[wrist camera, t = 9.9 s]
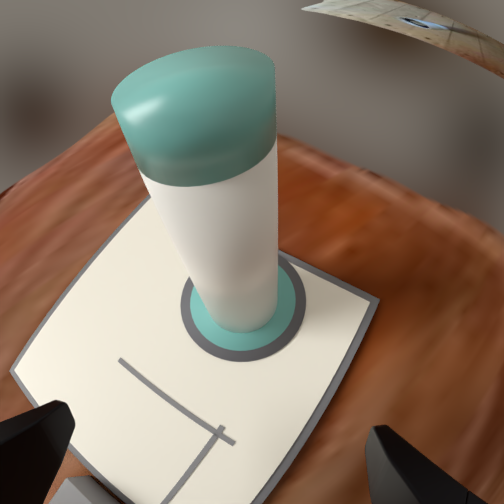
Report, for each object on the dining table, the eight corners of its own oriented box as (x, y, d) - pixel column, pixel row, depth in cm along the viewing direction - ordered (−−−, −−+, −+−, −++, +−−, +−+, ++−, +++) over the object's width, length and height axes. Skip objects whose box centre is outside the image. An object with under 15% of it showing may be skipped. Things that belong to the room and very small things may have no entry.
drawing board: (378, 302, 17) (381, 297, 17) (213, 558, 10) (211, 562, 9) (154, 193, 23) (151, 188, 23) (12, 372, 16) (7, 369, 15)
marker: (292, 301, 17) (310, 69, 6) (237, 347, 16) (154, 141, 5) (246, 256, 19) (211, 38, 8) (193, 296, 18) (92, 91, 7)
